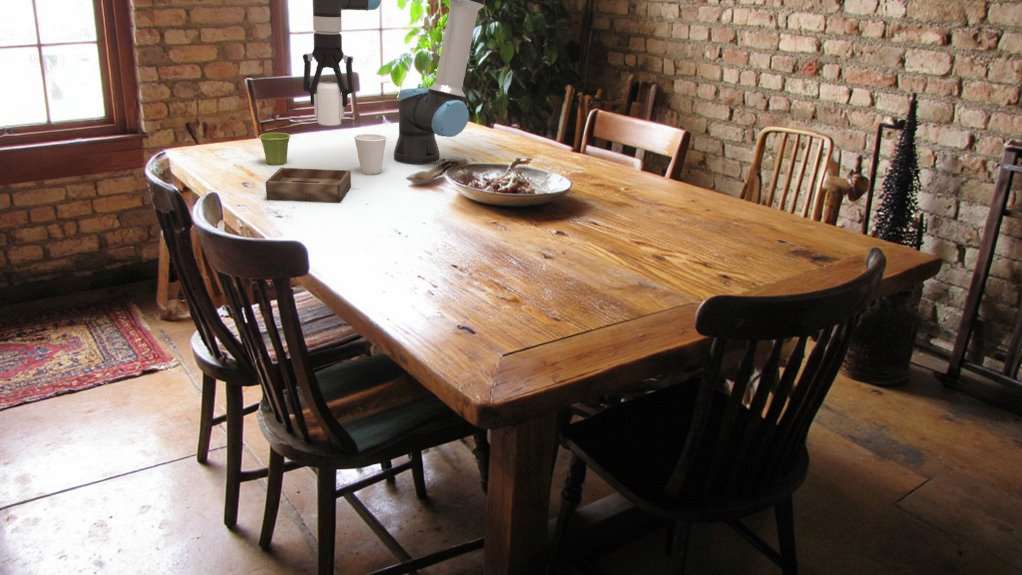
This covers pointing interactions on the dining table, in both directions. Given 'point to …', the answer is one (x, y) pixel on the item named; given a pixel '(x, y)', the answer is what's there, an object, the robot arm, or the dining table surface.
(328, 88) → the can
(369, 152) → the cup
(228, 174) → the dining table surface
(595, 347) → the dining table surface
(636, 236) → the dining table surface
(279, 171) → the walled box
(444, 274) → the dining table surface
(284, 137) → the plant pot
